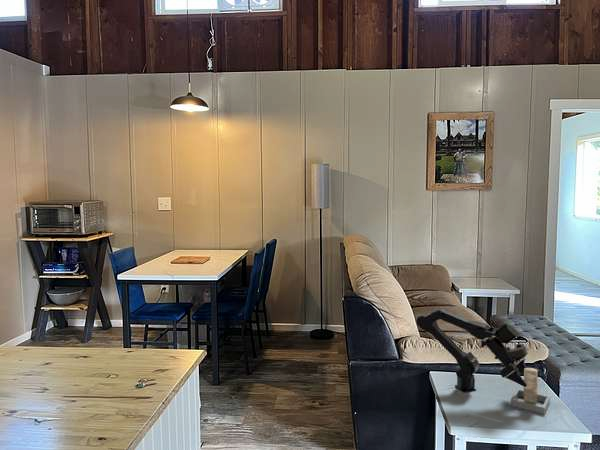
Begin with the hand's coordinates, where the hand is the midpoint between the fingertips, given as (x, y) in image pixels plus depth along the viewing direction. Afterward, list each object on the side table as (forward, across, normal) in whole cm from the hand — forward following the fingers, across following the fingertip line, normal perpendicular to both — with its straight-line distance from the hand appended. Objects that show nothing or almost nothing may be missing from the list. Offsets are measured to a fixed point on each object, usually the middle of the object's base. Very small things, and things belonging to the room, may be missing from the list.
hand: (528, 382), depth 181 cm
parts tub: (+7, 0, +6) cm, 9 cm away
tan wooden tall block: (+7, 0, +6) cm, 9 cm away
